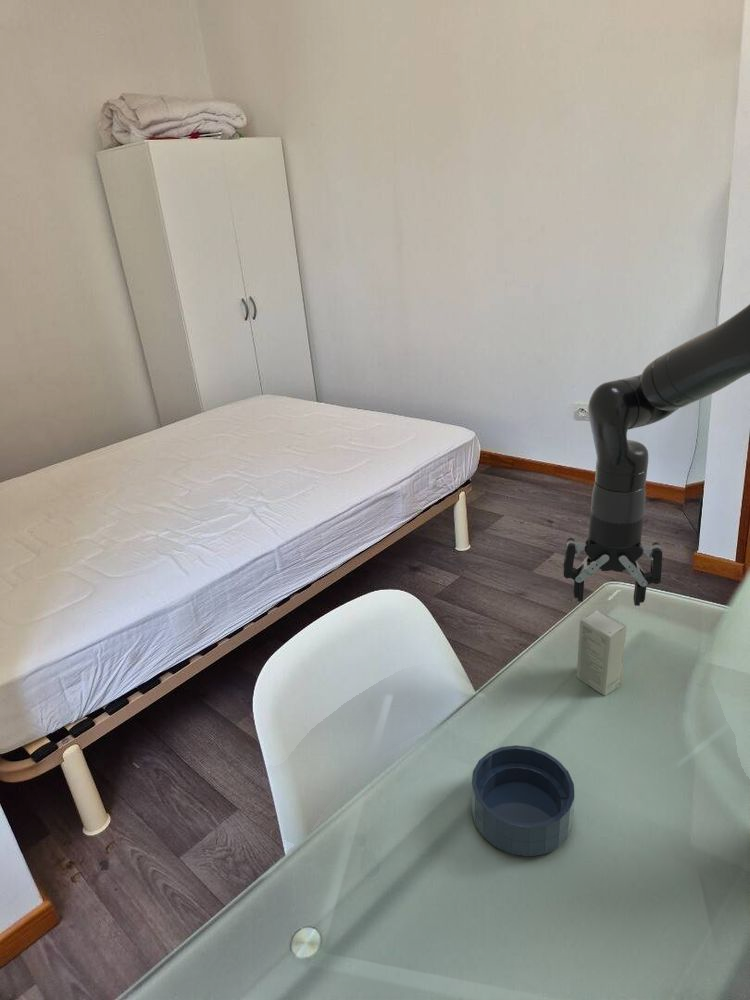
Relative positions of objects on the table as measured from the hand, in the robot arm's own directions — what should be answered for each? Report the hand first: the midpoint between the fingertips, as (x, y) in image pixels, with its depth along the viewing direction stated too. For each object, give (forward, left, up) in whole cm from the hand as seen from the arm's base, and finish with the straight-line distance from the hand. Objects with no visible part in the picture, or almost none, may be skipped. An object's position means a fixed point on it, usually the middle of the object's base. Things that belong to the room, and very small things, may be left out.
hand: (608, 600), depth 109 cm
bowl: (+12, +29, -16) cm, 35 cm away
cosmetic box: (0, 0, -16) cm, 16 cm away
